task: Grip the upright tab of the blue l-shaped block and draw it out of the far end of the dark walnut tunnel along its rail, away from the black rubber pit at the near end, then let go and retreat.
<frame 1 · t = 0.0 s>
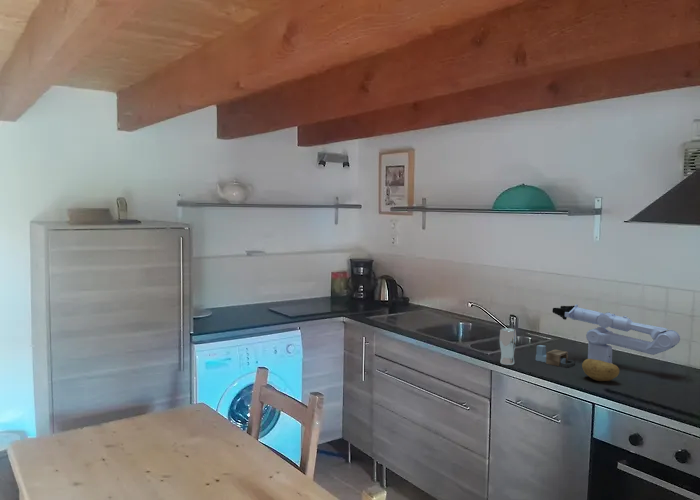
hand: (556, 309, 267), 22 cm above the table, tool horizontal, fingers open, 7 cm apart
beer glass: (507, 363, 254), on the table
blue l-shaped block: (550, 354, 257), point 3 cm above the table, slide at 0.0 cm
tunnel: (556, 363, 255), on the table
pit: (567, 365, 251), on the table
potato: (600, 381, 229), on the table
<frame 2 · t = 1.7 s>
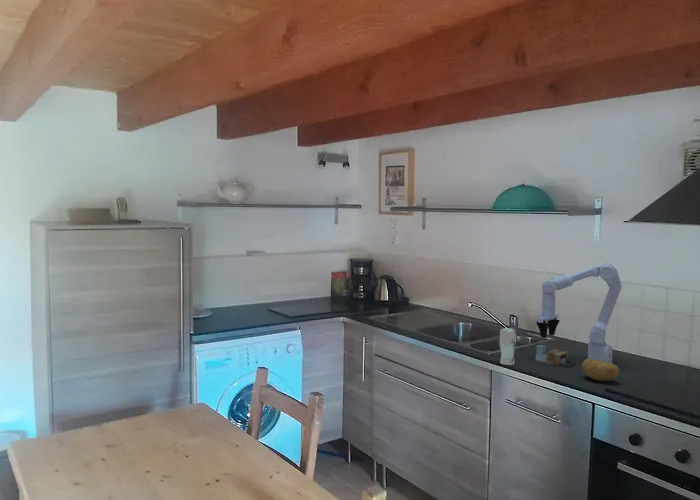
hand: (547, 336, 263), 10 cm above the table, tool pointing down, fingers open, 7 cm apart
nothing on the table moved.
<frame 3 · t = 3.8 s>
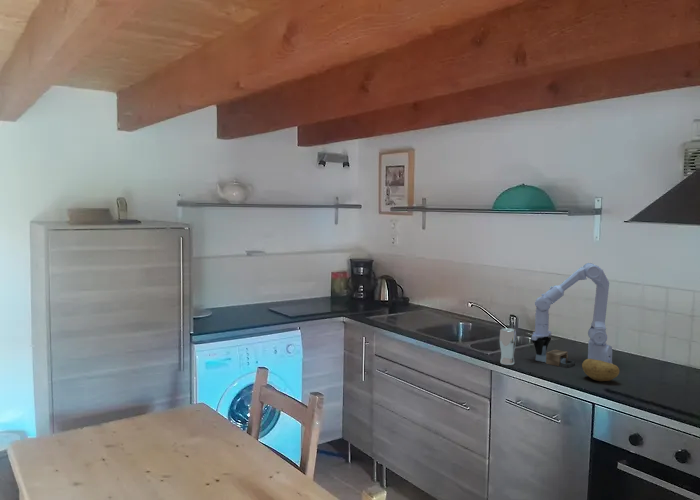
hand: (541, 353, 260), 3 cm above the table, tool pointing down, fingers closed on blue l-shaped block, 3 cm apart
blue l-shaped block: (550, 354, 257), point 3 cm above the table, slide at 0.0 cm, touching gripper
everything else where it was.
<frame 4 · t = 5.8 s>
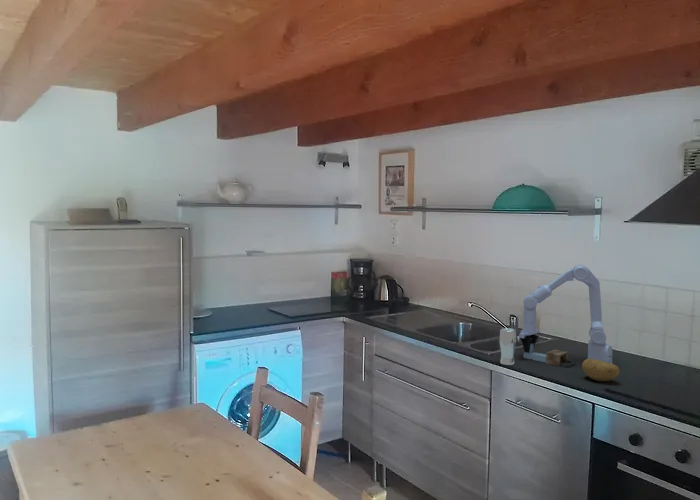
hand: (528, 351, 264), 3 cm above the table, tool pointing down, fingers closed on blue l-shaped block, 3 cm apart
blue l-shaped block: (538, 352, 261), point 3 cm above the table, slide at 6.0 cm, touching gripper
everything else where it was.
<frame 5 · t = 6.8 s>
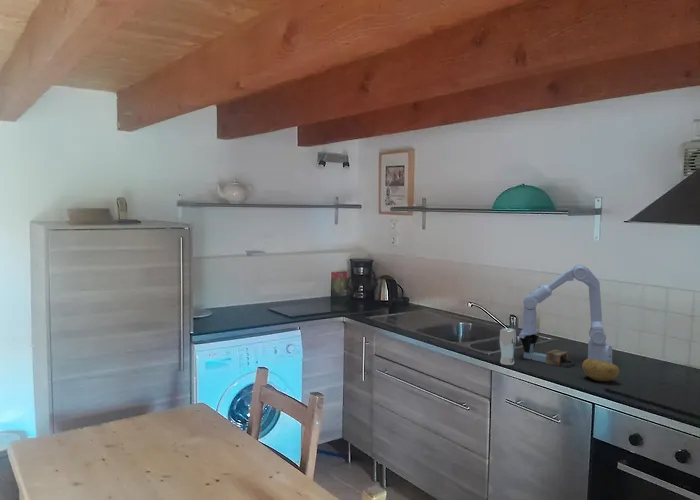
hand: (528, 351, 264), 3 cm above the table, tool pointing down, fingers open, 3 cm apart
blue l-shaped block: (538, 352, 261), point 3 cm above the table, slide at 6.0 cm
everything else where it was.
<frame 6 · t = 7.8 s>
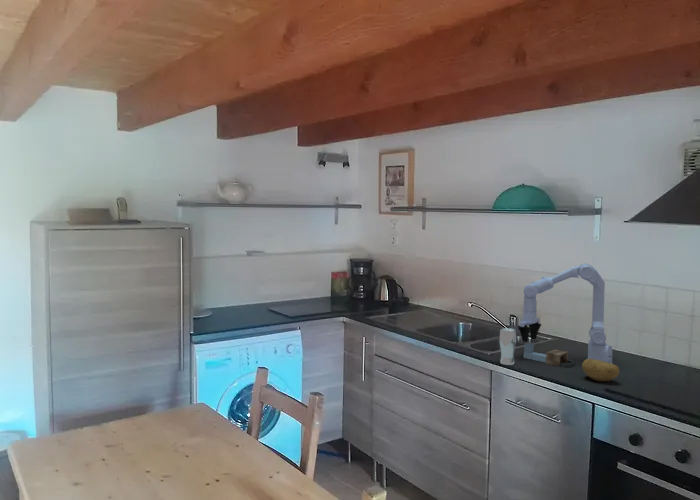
hand: (529, 340, 264), 8 cm above the table, tool pointing down, fingers open, 7 cm apart
nothing on the table moved.
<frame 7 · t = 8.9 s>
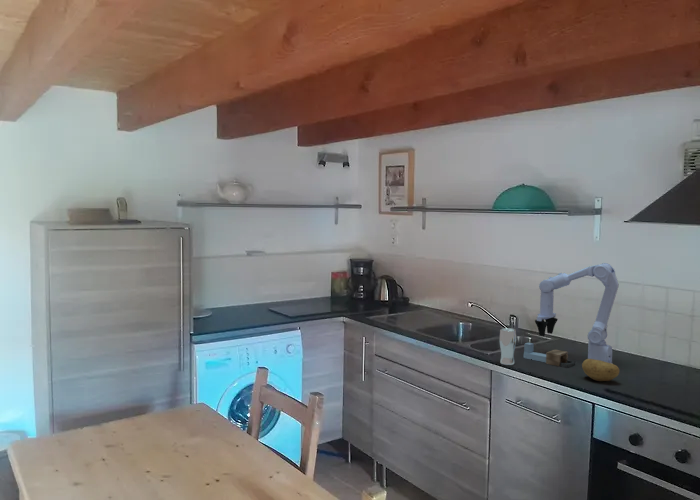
hand: (545, 334, 267), 10 cm above the table, tool pointing down, fingers open, 7 cm apart
nothing on the table moved.
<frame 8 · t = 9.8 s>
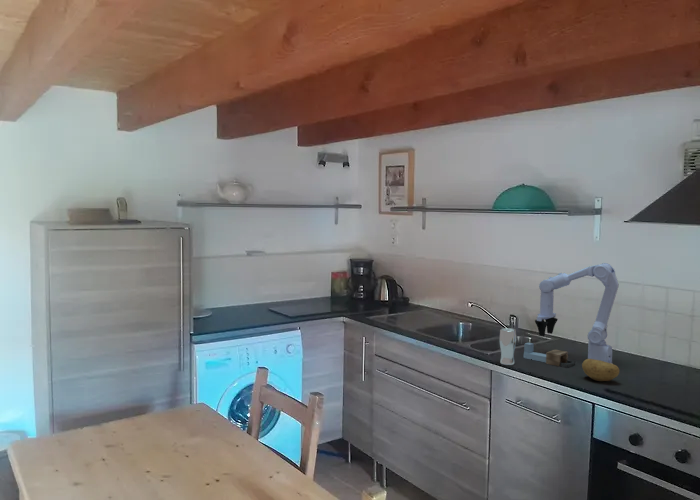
hand: (545, 334, 267), 10 cm above the table, tool pointing down, fingers open, 7 cm apart
nothing on the table moved.
at the end: blue l-shaped block slide at 6.0 cm; the gripper is holding nothing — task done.
